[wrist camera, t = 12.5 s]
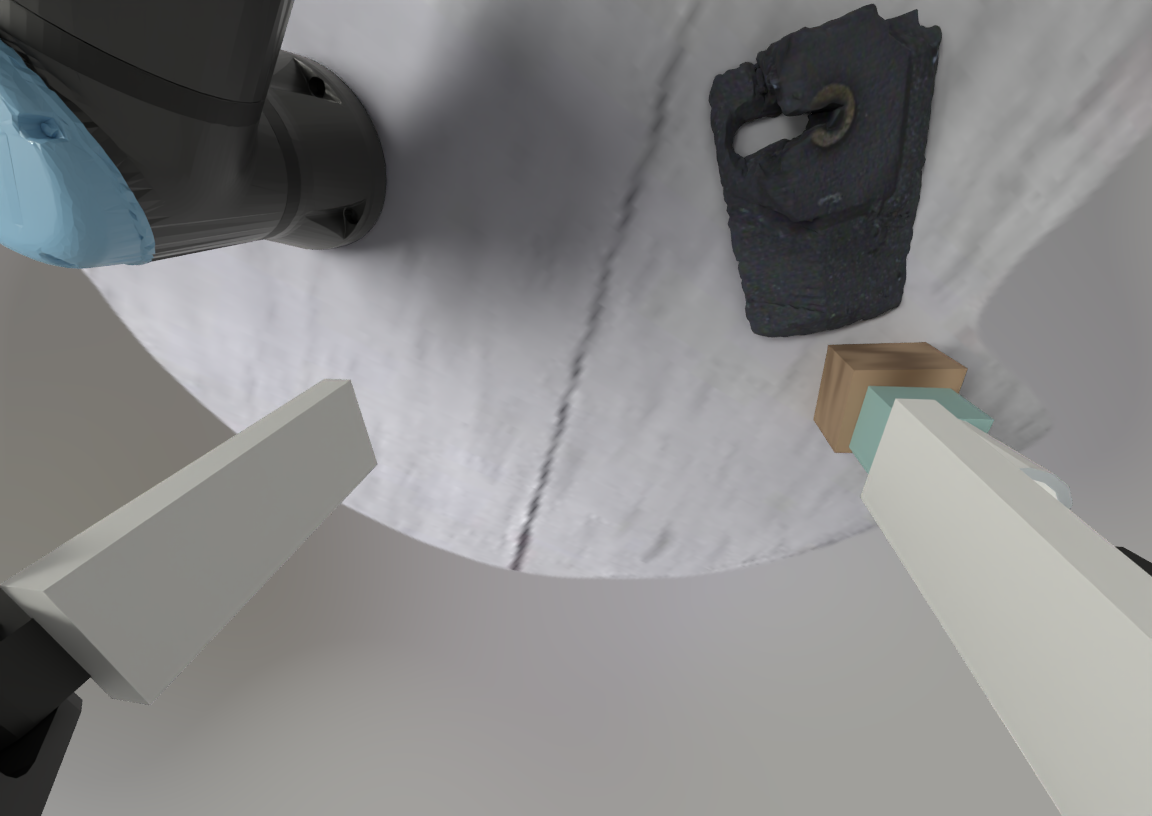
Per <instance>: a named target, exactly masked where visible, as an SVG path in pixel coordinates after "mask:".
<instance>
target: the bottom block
mask: <svg viewBox="0 0 1152 816" xmlns="http://www.w3.org/2000/svg"><path fill="white" fill-rule="evenodd" d="M966 372H967V368H966V367H964V366H963V365H961V364H960V363H958V362H956V361H955V360H953V359H952V358H950V357H948V356H947V355H945V354H944V353H942V352H940V351H939V350H937V349H936V348H934V347H933V346H931V345H929V344H928V343H926V342H919V343H880V344H842V345H828V349H827V354H826V359H825V364H824V369H823V374H822V379H821V384H820V390H819V395H818V400H817V405H816V410H815V415H814V421H815V423H816V424H817V426H818V427H819V429H820V430H821V432H822V433H823V435H824V437H825V438H826V440H827V441H828V443H829V444H830V446H831V447H832V449H833V451H834V452H835V453H853V452H852V451H851V450H850V448H849V445H850V442H851V439H852V435H853V432H854V429H855V426H856V423H857V420H858V417H859V414H860V411H861V408H862V405H863V401H864V398H865V395H866V392H867V389H868V386H890V387H923V388H951V389H952V390H954V391H955V392H956V393H958V394H959V391H960V388H961V386H962V383H963V380H964V377H965V375H966Z"/></svg>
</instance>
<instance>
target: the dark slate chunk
mask: <svg viewBox="0 0 1152 816" xmlns="http://www.w3.org/2000/svg"><path fill="white" fill-rule="evenodd" d="M941 38H942V32H941V29H940V27H939V26H933V27H930V28H925V27H924V26H920V24H919V21H918V10H917V9H916V10H913V11H911V12H908V13H906V14H903V15H901V16H898V17H895V18H892V19H887V20H884V19H883V18H882V17H880V16H879V15H878V12H877V8H876V6H875V5H874V4H870V5H866V6H863V7H861V8H859V9H857V10H854V11H852V12H850V13H848V14H846V15H844V16H842V17H840V18H838V19H834V20H831V21H828V22H826V23H824V24H823V25H821V26H818V27H813V28H807V27H804V28H802V29H800V30H798V31H796V32H794V33H791V34H789V35H787V36H785V37H783V38H782V39H781V40H779V41H777V42H775V43H772V44H771V45H770V46H769V48H768V49H767V50H765V51H761V52H759V53H758V54H757V58H756V60H757V64H755V65H754V64H752V63H749V62H745V63H742V64H740V67H739V68H737V69H731V70H728V71H726V72H725V73H724V74H723V75H722V74H719V75H717V76H716V77H715V79H714V82H713V85H712V88H711V91H710V95H709V103H710V105H711V128H712V131H713V133H714V140H715V145H716V150H717V161H718V166H719V173H720V177H721V184H722V186H723V194H724V200H725V202H726V203H727V212H728V214H729V216H730V218H729V222H728V226H729V228H730V231H731V241H732V247H733V252H734V254H735V257H736V260H737V261H739V265H738V270H739V274H740V277H741V278H742V283H741V284H742V288H743V291H744V293H745V298H746V307H745V310H746V317H747V319H748V320H749V322H750V325H751V329H752V331H753V332H754V333H755V334H758V335H762V336H767V337H780V336H781V337H788V336H793V335H806V334H812V333H815V332H819V331H824V330H832V329H837V328H840V327H843V326H845V325H850V324H852V323H855V322H857V321H859V320H861V319H862V320H867V319H871V318H874V317H877V316H878V315H881V314H883V313H885V312H886V311H888V310H890V309H893V308H895V307H898V306H899V304H900V302H901V297H902V294H903V287H904V284H905V281H906V257H907V254H908V253H909V250H910V242H911V240H912V236H913V224H914V221H915V217H916V211H917V206H918V202H919V199H920V189H921V178H922V171H921V169H922V167H923V165H924V163H925V157H924V153H925V148H926V143H927V134H928V129H929V120H930V113H931V100H932V96H933V92H934V79H935V75H936V70H937V65H938V49H939V45H940V42H941ZM759 66H760V68H758V67H759ZM755 68H757V70H756V72H755ZM807 112H812V114H810V115H809V116H808V119H809V121H808V124H807V126H806V131H804V132H803V134H802V135H800V136H798V137H796V138H793V139H792V140H788V139H782V140H780V141H777V142H775V143H773V144H770V145H768V146H767V147H765V148H763V149H761V150H759V151H757V152H756V153H754V154H752V155H749V156H746V157H744V158H743V157H741V156H740V155H739V154H737V153H736V152H735V151H734V149H733V146H732V143H733V138H734V136H735V133H736V131H737V130H738V128H739V127H740V126H742V125H743V124H744V123H746V122H752V121H754V120H755V119H759V118H762V117H772V118H773V117H777V116H779V115H780V114H781V113H783V114H784V115H786V116H797V115H802V114H804V113H807Z"/></svg>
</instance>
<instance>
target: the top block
mask: <svg viewBox="0 0 1152 816" xmlns="http://www.w3.org/2000/svg"><path fill="white" fill-rule="evenodd" d="M895 398H897V399H926V400H936V401H937V402H938V403H939V404H941V405H942V406H943V407H944V408H945V409H947V410H948V411H949V412H950V413H952V414H953V415H954V416H955V417H956V418H958V419H960V420H964V421H967V422H968V423H970V424H972V425H973V426H975V427H977V428H978V429H980V430H982V431H983V432H985V433H988V431H989V429H990V427H991V425H992V423H993V421H994V419H992V418H991V417H990V416H988V415H987V414H985V413H984V412H983V411H981V410H980V409H978V408H977V407H976V406H974V405H973V404H972V403H970V402H969V401H967V400H966V399H965V398H963V397H962V396H960V395H959V394H958V393H956V392H955V391H954V390H952V389H951V388H923V387H890V386H868V389H867V392H866V395H865V398H864V401H863V405H862V408H861V411H860V414H859V417H858V420H857V423H856V426H855V429H854V432H853V435H852V439H851V442H850V445H849V448H850V450H851V451H852V452H853V454H854V455H855V456H856V458H857V459H858V461H859V462H860V463H861V465H862V466H863V468H864V469H865V470H866V472H867V473H868V474H869V471H870V469H871V466H872V463H873V460H874V457H875V454H876V452H877V449H878V446H879V443H880V440H881V438H882V435H883V432H884V429H885V426H886V424H887V421H888V418H889V415H890V412H891V410H892V407H893V404H894V401H895Z"/></svg>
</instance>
